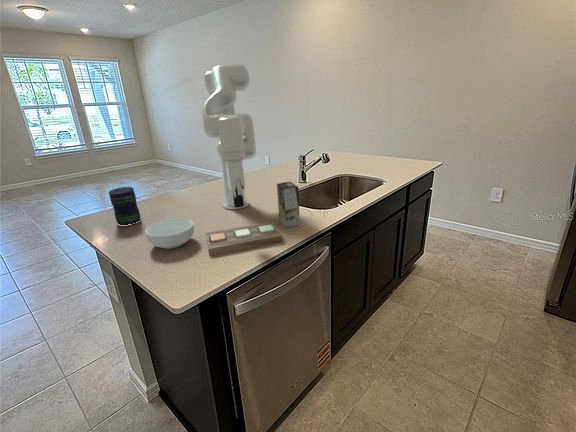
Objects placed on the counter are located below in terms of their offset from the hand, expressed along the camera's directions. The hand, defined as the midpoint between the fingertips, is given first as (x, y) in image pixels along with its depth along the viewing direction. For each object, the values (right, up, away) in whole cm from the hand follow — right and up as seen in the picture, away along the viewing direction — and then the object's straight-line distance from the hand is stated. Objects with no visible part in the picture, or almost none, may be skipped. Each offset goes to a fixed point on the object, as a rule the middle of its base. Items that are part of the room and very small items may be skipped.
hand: (239, 206), depth 111 cm
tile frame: (+1, -13, +4) cm, 13 cm away
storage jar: (-53, -7, +27) cm, 60 cm away
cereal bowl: (-25, -14, +5) cm, 29 cm away
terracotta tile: (-8, -14, +2) cm, 16 cm away
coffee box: (+18, -6, +18) cm, 26 cm away
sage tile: (+9, -11, +7) cm, 16 cm away
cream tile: (+1, -12, +4) cm, 13 cm away
